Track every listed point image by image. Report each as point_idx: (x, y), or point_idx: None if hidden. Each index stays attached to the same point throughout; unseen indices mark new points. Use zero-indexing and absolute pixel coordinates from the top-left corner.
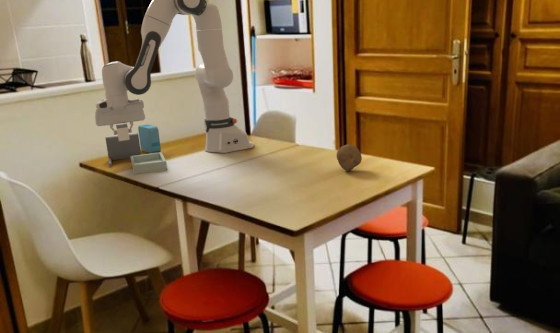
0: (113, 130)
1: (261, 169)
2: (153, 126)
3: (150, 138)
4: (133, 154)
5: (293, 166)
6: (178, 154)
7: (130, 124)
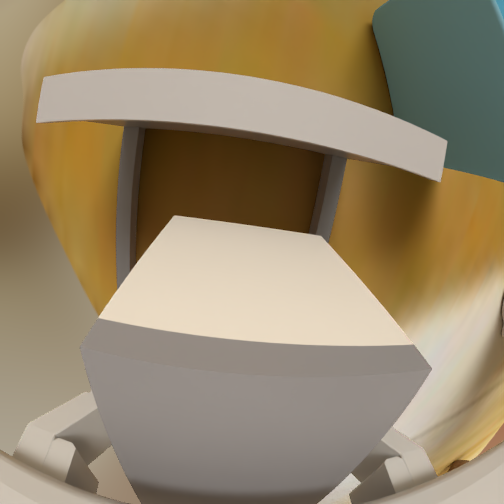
0: (103, 435)
1: (428, 453)
2: None
3: (467, 172)
4: (297, 147)
5: (455, 445)
6: (459, 263)
7: (354, 493)
